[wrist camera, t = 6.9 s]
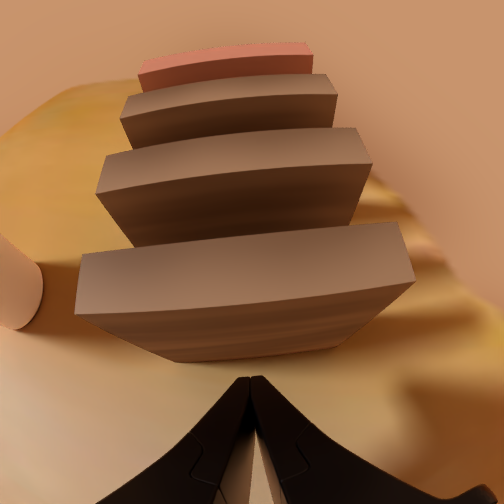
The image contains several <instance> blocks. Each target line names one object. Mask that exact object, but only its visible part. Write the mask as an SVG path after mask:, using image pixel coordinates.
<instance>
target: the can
mask: <svg viewBox="0 0 504 504" xmlns="http://www.w3.org/2000/svg"><path fill="white" fill-rule="evenodd" d="M42 294H43V279H42V274H41V270H40V268H39V267H38V265H37V264H36V263H34V262H33V261H32V260H31V259H30V258H28V257H27V256H26V255H25V254H23V253H22V252H21V251H20V250H19V249H17V248H16V247H15V246H14V245H13V244H11V243H10V242H9V241H8V240H7V239H6V238H4V237H3V236H2V235H1V234H0V325H2V326H4V327H7V328H9V329H19V328H22V327H23V326H25V325H26V324H27V323H29V322H30V321H31V320H32V318H33V317H34V316H35V314H36V312H37V310H38V308H39V306H40V303H41V299H42Z"/></svg>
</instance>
